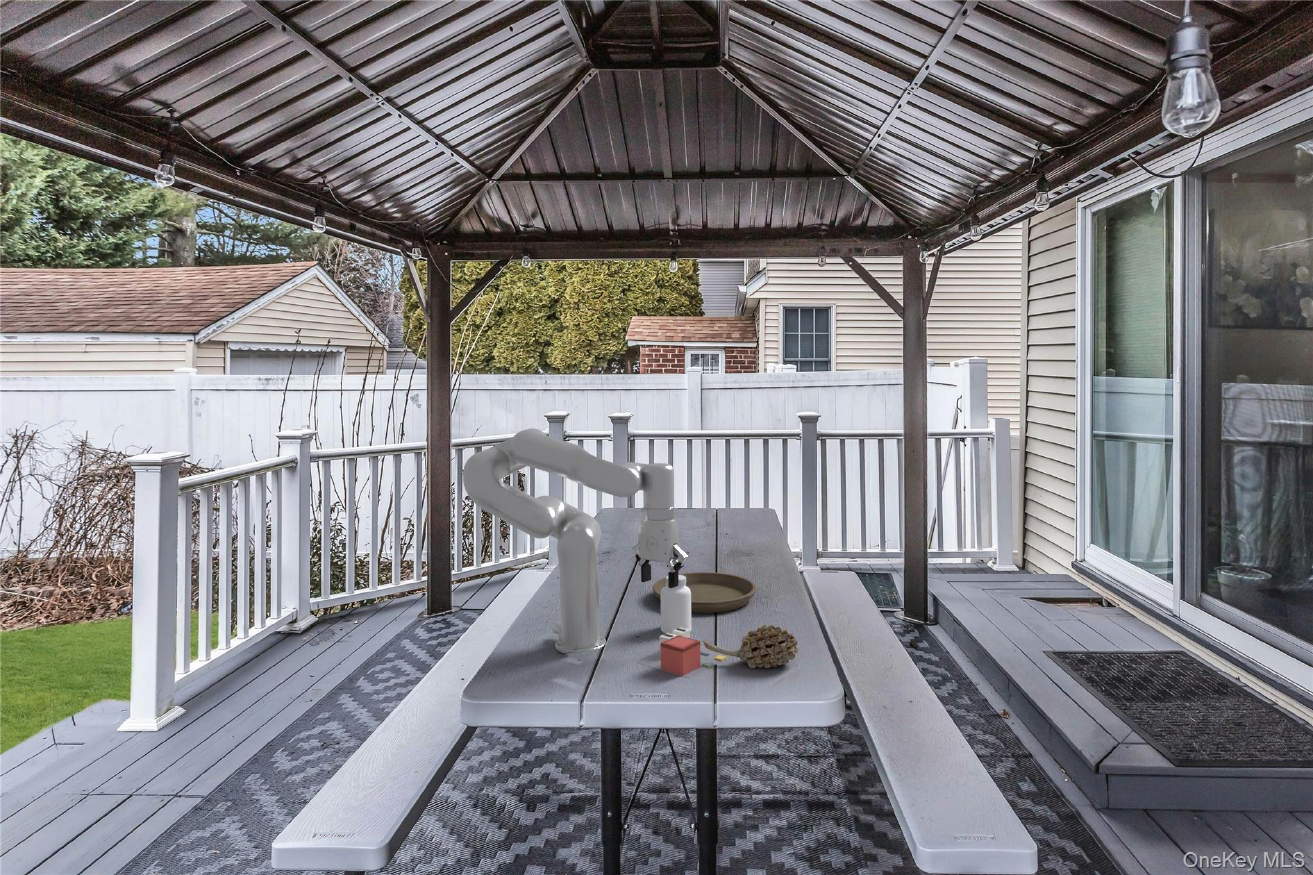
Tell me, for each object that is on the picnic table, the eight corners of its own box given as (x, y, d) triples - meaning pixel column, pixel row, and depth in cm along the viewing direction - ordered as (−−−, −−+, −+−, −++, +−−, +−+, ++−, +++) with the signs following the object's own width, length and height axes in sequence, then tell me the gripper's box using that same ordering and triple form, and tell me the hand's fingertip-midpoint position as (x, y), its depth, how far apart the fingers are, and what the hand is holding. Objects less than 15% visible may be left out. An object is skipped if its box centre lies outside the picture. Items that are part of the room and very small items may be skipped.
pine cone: (796, 660, 178) (795, 619, 177) (800, 677, 168) (800, 633, 168) (701, 659, 180) (701, 618, 179) (700, 675, 170) (700, 632, 169)
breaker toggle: (672, 647, 185) (672, 629, 184) (680, 643, 187) (680, 626, 186) (682, 650, 183) (682, 632, 182) (690, 646, 185) (689, 628, 185)
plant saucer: (747, 619, 209) (747, 603, 209) (639, 612, 218) (639, 596, 218) (763, 589, 239) (763, 574, 239) (668, 583, 248) (668, 569, 247)
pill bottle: (697, 632, 199) (697, 576, 198) (677, 640, 193) (676, 582, 192) (675, 626, 204) (674, 571, 203) (654, 633, 198) (653, 577, 197)
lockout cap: (660, 669, 172) (660, 643, 171) (678, 660, 177) (677, 635, 176) (683, 675, 168) (682, 649, 167) (700, 666, 173) (700, 641, 172)
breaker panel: (637, 666, 176) (636, 642, 176) (684, 644, 190) (684, 622, 189) (689, 682, 166) (688, 657, 166) (734, 658, 180) (734, 634, 180)
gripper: (622, 512, 189) (623, 581, 190) (677, 520, 178) (678, 593, 179) (641, 508, 195) (642, 575, 196) (696, 515, 184) (697, 586, 185)
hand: (659, 583), depth 188 cm, fingers open, 8 cm apart
